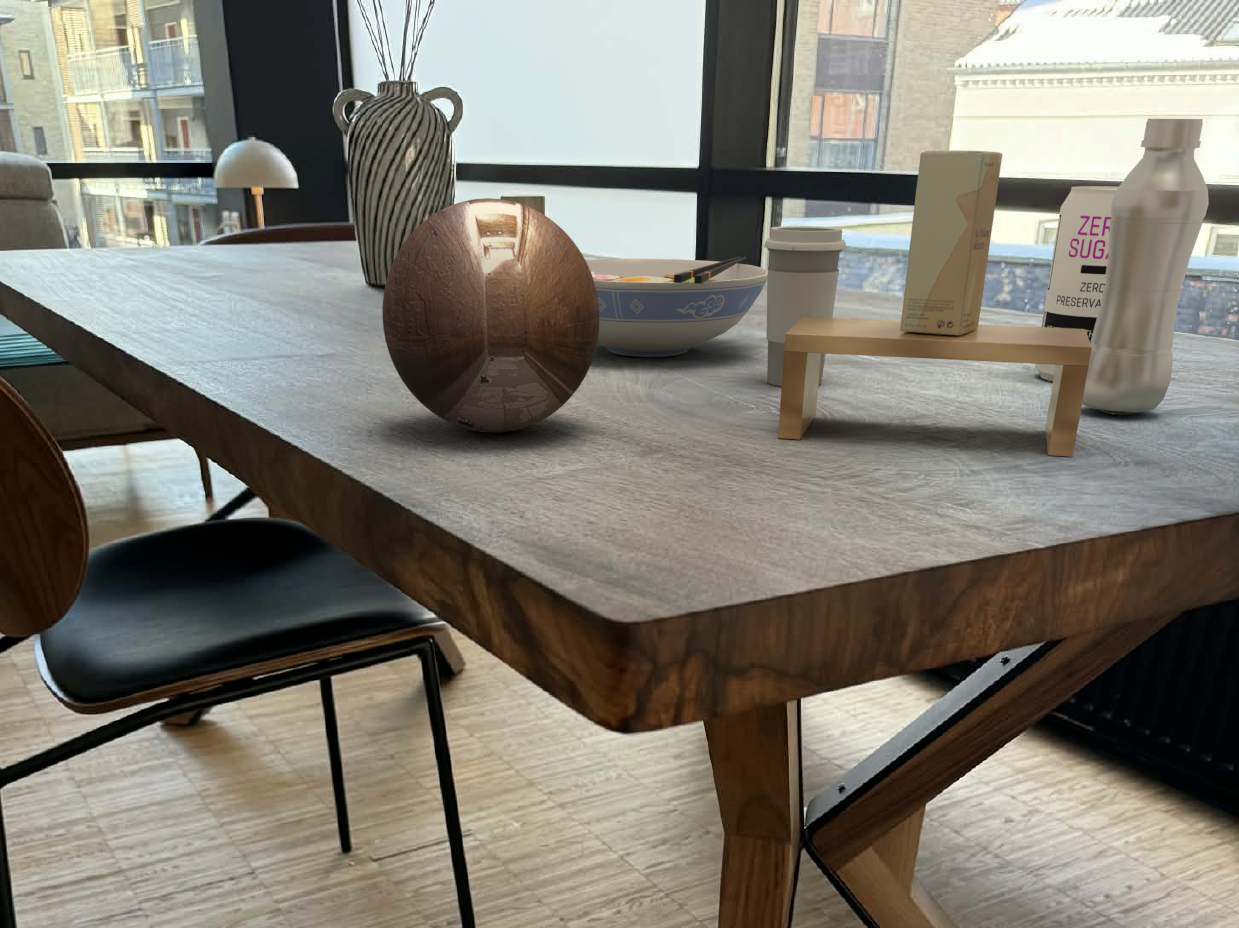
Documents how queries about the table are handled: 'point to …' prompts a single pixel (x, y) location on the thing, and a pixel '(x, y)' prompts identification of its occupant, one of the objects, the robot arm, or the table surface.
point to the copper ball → (491, 315)
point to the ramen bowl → (670, 302)
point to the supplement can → (1078, 263)
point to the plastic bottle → (1146, 270)
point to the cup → (799, 284)
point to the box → (950, 241)
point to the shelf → (979, 345)
